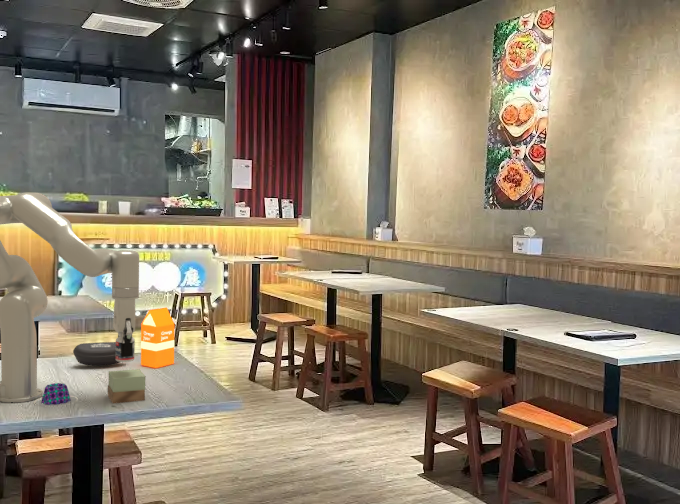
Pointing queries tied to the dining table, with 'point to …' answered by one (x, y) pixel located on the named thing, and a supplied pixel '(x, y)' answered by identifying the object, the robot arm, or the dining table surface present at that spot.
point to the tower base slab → (126, 396)
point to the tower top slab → (126, 380)
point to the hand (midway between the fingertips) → (124, 353)
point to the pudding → (55, 395)
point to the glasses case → (96, 353)
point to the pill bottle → (118, 349)
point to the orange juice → (157, 338)
